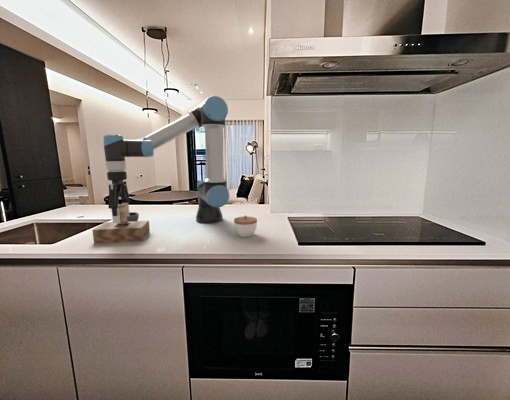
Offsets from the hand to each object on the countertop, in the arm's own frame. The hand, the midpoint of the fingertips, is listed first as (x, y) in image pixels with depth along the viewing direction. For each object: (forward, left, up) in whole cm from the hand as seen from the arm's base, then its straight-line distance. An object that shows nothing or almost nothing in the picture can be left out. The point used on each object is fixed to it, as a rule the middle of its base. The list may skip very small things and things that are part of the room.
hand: (121, 219), depth 115 cm
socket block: (0, 0, -9) cm, 9 cm away
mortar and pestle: (+4, -18, -9) cm, 20 cm away
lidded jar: (-56, +5, -9) cm, 57 cm away
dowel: (0, 0, -7) cm, 7 cm away
